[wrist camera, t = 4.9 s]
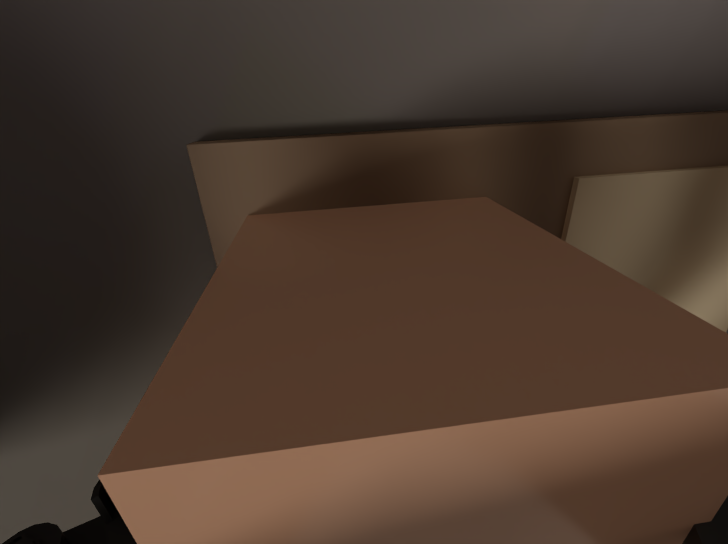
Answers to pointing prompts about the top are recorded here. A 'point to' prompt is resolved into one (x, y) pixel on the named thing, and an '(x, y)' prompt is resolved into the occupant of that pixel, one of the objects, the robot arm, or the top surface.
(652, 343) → the tan cardboard carton
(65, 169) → the top surface
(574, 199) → the walnut board
